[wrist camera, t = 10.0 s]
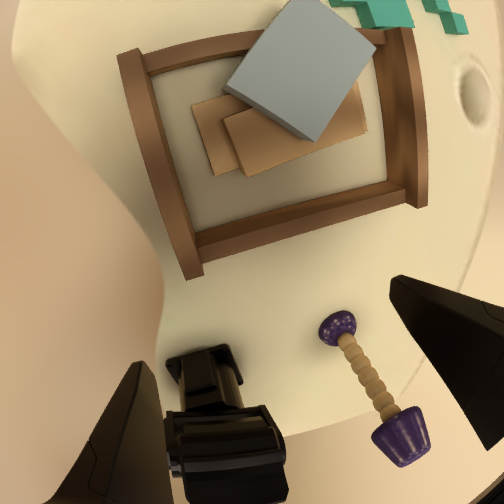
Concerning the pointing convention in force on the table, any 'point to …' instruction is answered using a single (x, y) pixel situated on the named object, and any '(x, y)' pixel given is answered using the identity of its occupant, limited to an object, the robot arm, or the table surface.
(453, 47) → the table surface
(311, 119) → the grey tapered box
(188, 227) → the picture frame
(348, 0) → the alien figure
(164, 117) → the table surface
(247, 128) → the offcut
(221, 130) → the offcut
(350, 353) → the toy lamp
